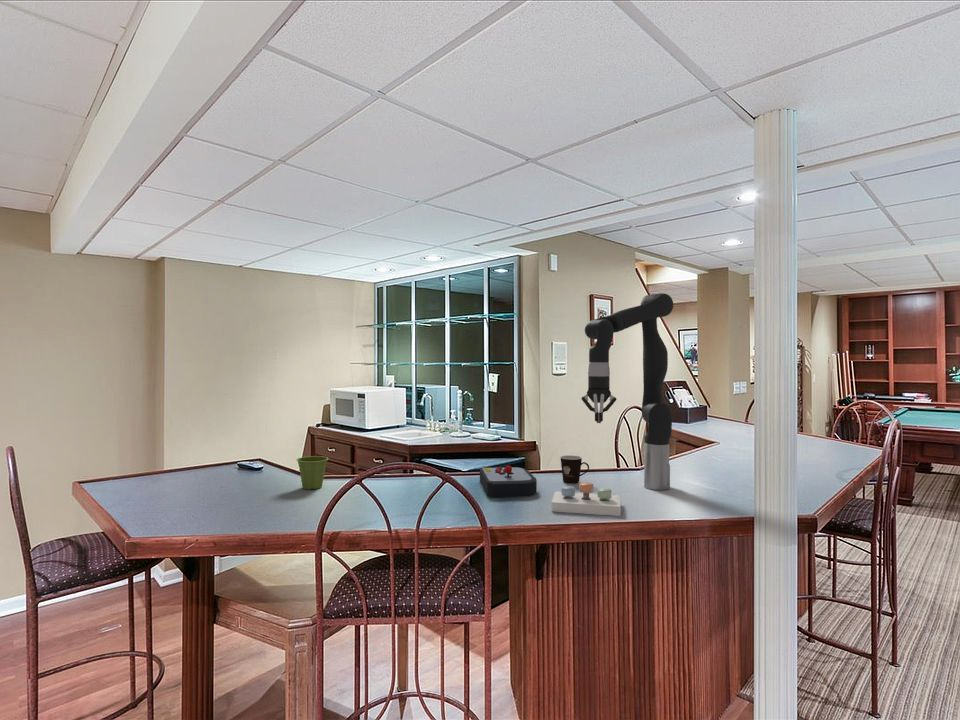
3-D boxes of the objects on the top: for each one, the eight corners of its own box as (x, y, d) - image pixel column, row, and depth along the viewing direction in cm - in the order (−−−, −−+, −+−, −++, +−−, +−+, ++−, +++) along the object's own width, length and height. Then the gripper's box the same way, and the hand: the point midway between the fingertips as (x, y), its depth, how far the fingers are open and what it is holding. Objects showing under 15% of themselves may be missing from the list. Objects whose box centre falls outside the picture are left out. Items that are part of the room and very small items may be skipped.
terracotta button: (593, 499, 179) (593, 482, 179) (593, 503, 175) (593, 486, 175) (579, 498, 180) (579, 482, 180) (578, 502, 176) (579, 485, 176)
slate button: (575, 502, 181) (575, 486, 180) (574, 506, 176) (574, 489, 176) (561, 501, 182) (561, 485, 181) (560, 505, 177) (560, 489, 177)
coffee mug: (556, 480, 215) (556, 456, 215) (573, 478, 219) (573, 454, 219) (572, 487, 205) (572, 461, 205) (590, 484, 208) (590, 459, 208)
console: (619, 503, 182) (619, 495, 182) (620, 515, 168) (620, 506, 168) (555, 499, 187) (555, 491, 187) (551, 511, 173) (551, 502, 173)
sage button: (611, 505, 178) (611, 488, 178) (611, 508, 173) (611, 491, 173) (597, 504, 179) (597, 487, 179) (597, 507, 174) (597, 491, 174)
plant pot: (323, 491, 198) (323, 461, 197) (291, 491, 198) (291, 461, 198) (332, 484, 209) (332, 455, 209) (302, 483, 210) (302, 455, 210)
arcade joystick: (540, 497, 191) (540, 470, 191) (487, 499, 189) (488, 471, 189) (525, 479, 219) (525, 455, 219) (479, 480, 217) (479, 456, 217)
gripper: (617, 374, 192) (617, 422, 192) (580, 374, 195) (580, 421, 195) (618, 375, 185) (618, 424, 185) (579, 375, 188) (579, 423, 188)
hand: (598, 422), depth 190 cm, fingers closed
